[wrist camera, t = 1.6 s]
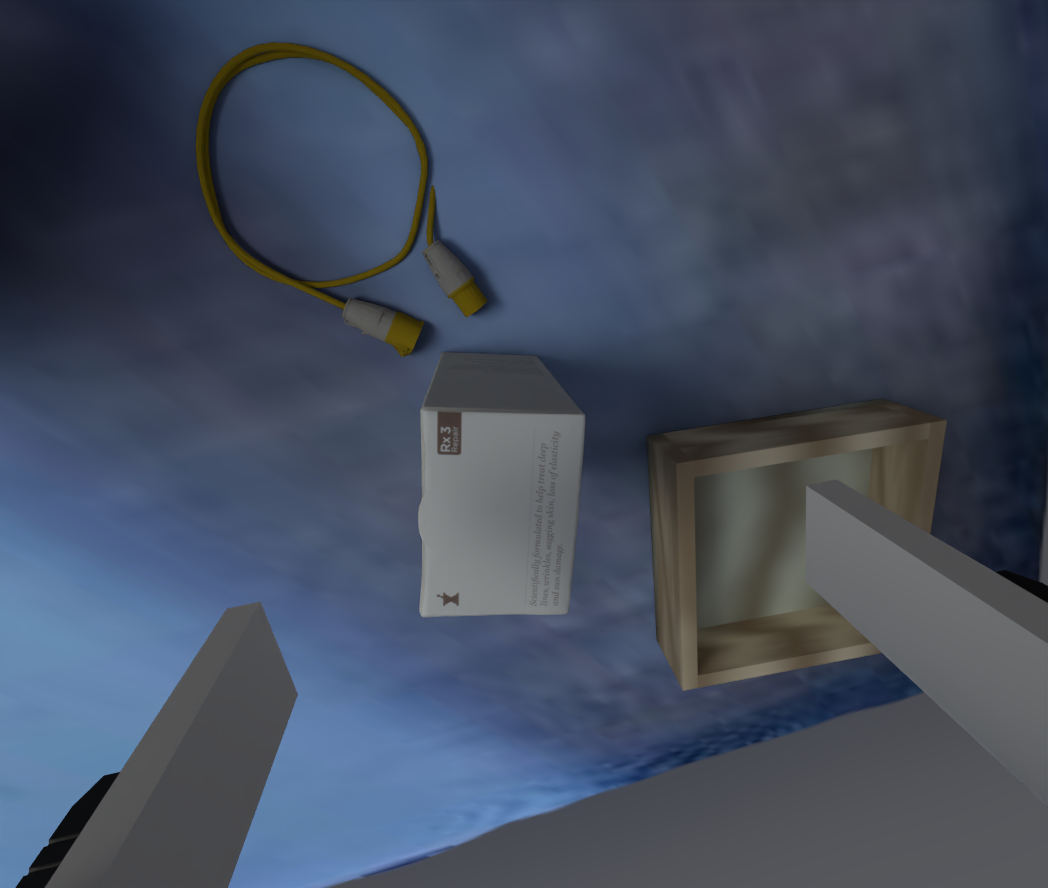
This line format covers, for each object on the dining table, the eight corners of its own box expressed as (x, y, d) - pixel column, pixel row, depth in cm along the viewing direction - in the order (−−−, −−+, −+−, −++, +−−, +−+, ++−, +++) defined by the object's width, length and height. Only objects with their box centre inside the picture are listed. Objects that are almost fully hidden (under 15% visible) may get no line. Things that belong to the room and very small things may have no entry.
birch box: (656, 639, 40) (683, 690, 35) (646, 435, 35) (676, 463, 30) (861, 602, 41) (913, 646, 36) (882, 398, 36) (947, 420, 31)
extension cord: (295, 388, 32) (285, 396, 30) (157, 85, 26) (134, 72, 24) (494, 325, 32) (497, 329, 30) (398, 11, 27) (393, -7, 25)
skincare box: (529, 478, 35) (577, 626, 21) (433, 477, 34) (417, 631, 20) (537, 346, 32) (599, 415, 18) (434, 342, 31) (415, 411, 17)
